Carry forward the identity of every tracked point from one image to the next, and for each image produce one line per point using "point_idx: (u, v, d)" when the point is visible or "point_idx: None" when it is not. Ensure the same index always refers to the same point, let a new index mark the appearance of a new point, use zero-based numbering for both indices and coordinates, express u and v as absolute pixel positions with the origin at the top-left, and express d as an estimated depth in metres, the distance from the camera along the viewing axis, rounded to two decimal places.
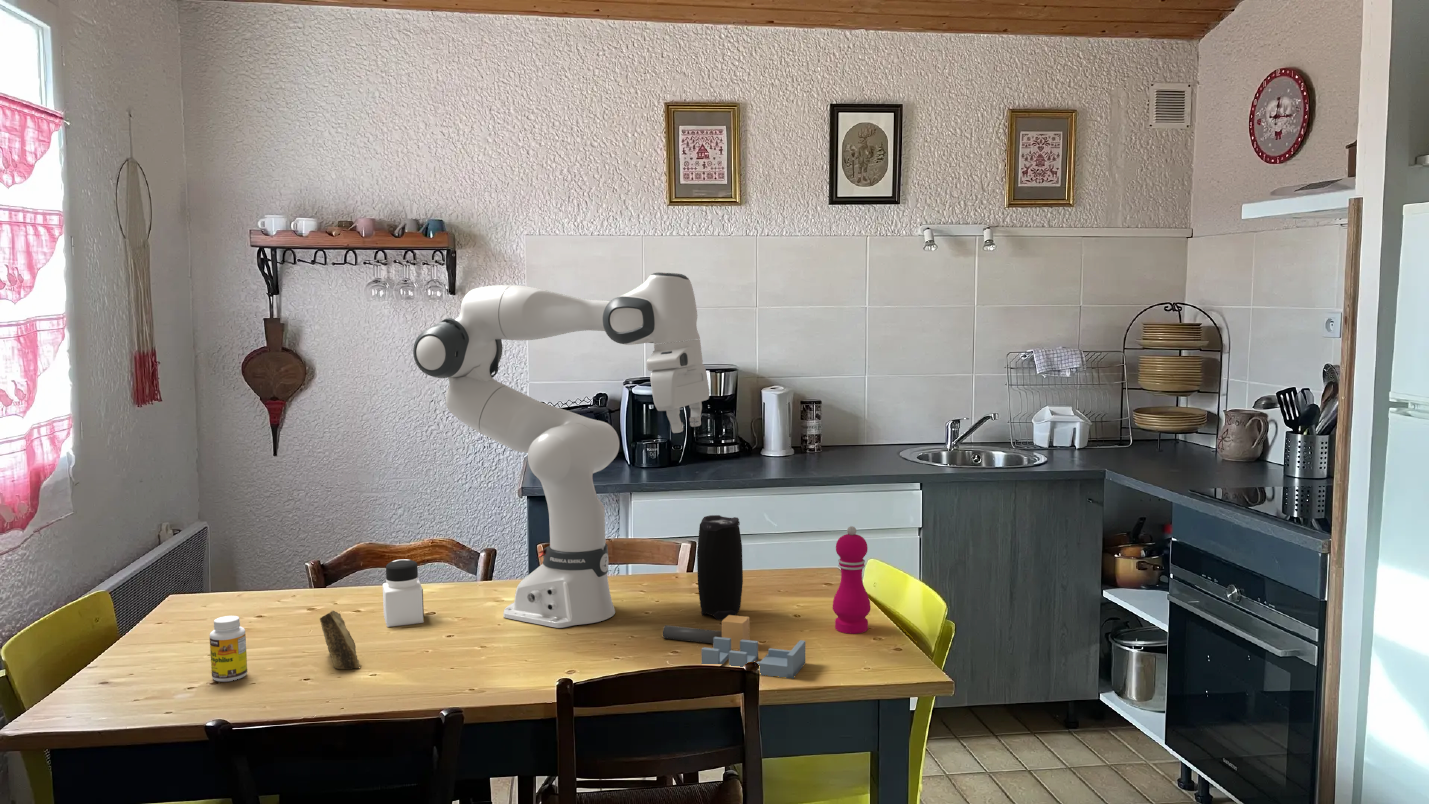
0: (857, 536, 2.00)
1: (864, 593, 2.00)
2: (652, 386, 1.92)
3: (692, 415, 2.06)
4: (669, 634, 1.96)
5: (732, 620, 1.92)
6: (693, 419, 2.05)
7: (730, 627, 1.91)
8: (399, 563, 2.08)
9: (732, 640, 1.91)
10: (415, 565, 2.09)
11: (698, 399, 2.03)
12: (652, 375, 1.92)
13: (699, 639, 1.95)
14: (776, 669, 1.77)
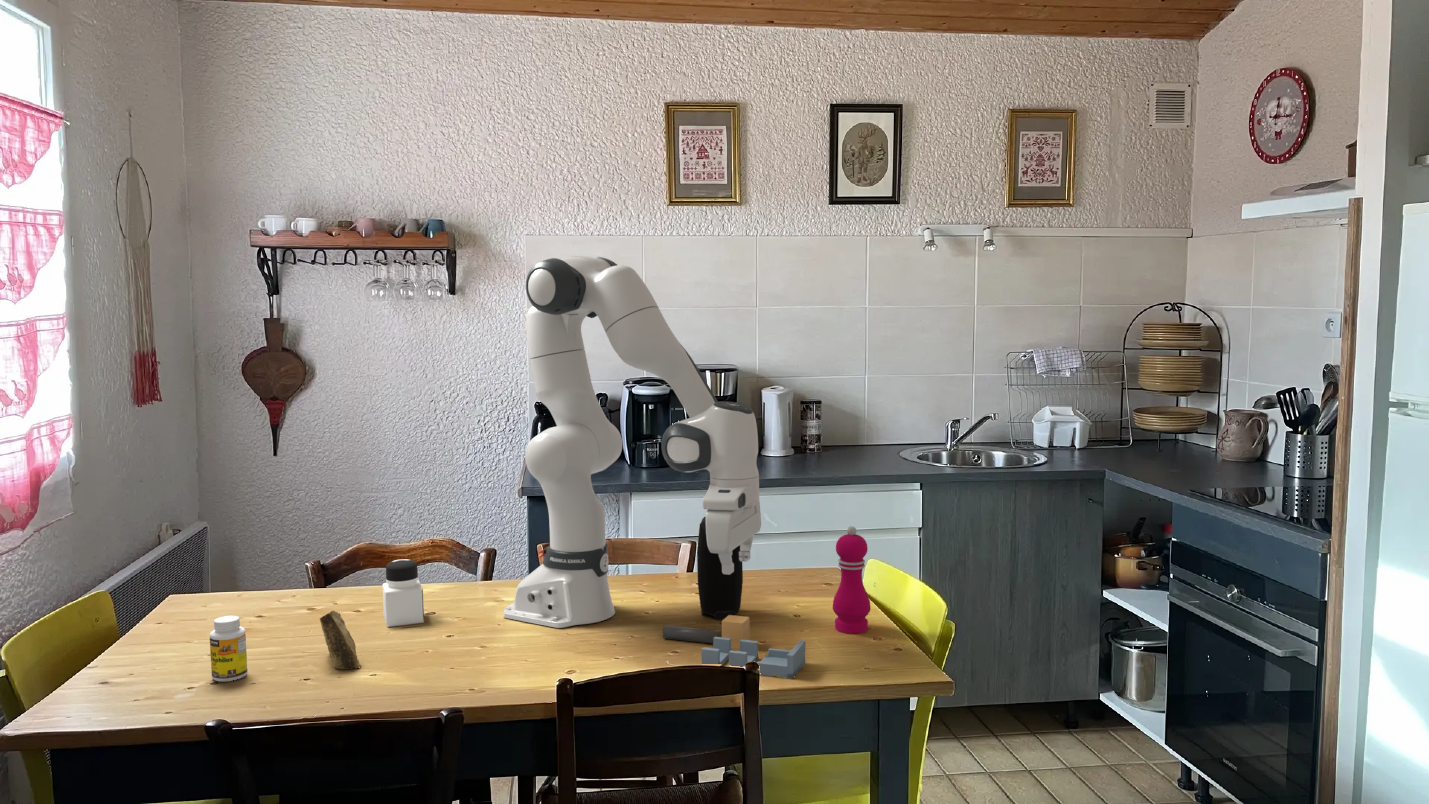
0: (857, 536, 2.00)
1: (864, 593, 2.00)
2: (707, 527, 1.82)
3: (742, 549, 1.96)
4: (669, 634, 1.96)
5: (732, 620, 1.92)
6: (743, 554, 1.95)
7: (730, 627, 1.91)
8: (398, 563, 2.08)
9: (732, 640, 1.91)
10: (415, 565, 2.09)
11: (750, 535, 1.94)
12: (708, 515, 1.83)
13: (699, 639, 1.95)
14: (776, 669, 1.77)
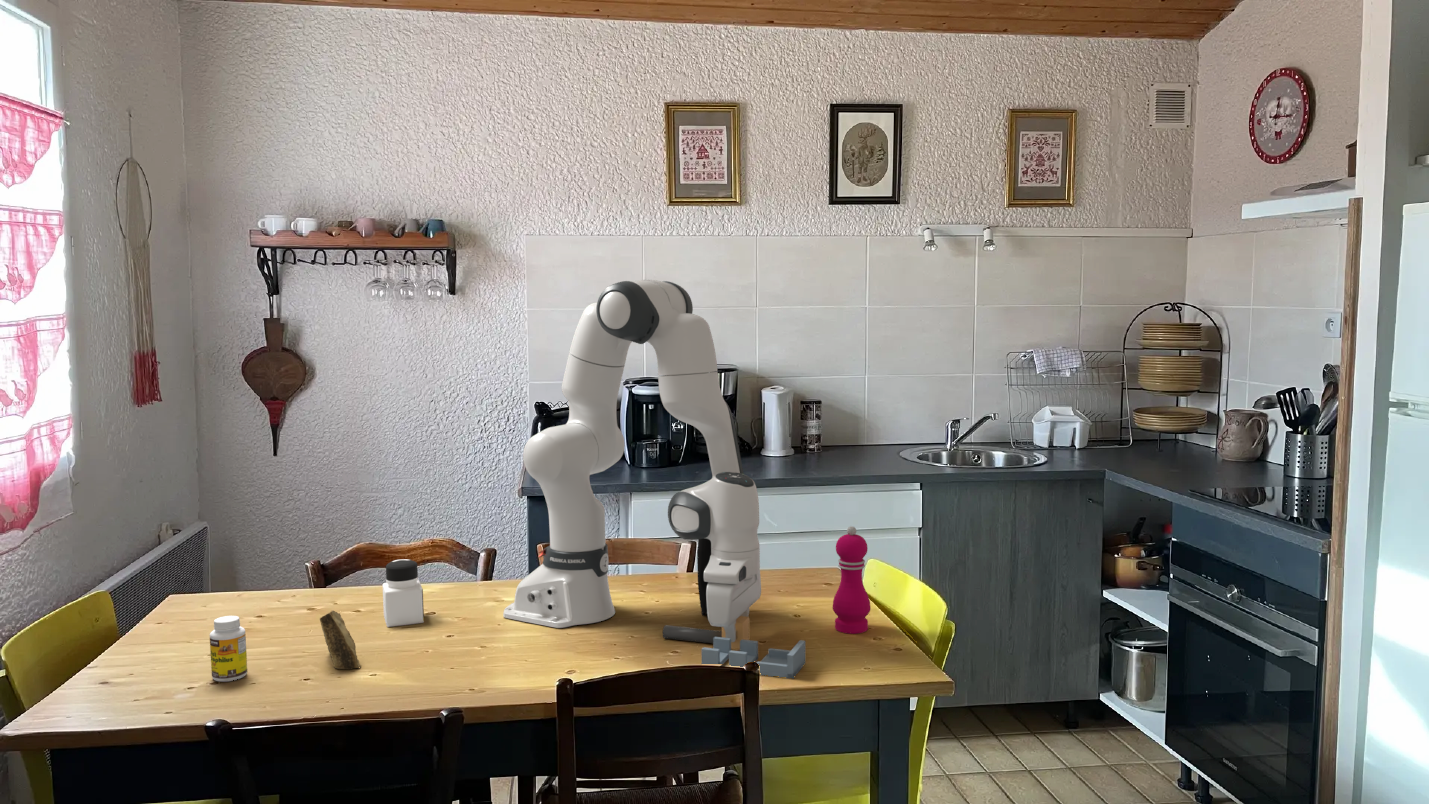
0: (857, 536, 2.00)
1: (864, 593, 2.00)
2: (707, 600, 1.84)
3: None
4: (669, 634, 1.96)
5: None
6: None
7: None
8: (398, 563, 2.08)
9: None
10: (415, 565, 2.09)
11: (750, 604, 1.95)
12: (708, 588, 1.84)
13: (699, 639, 1.95)
14: (776, 669, 1.77)
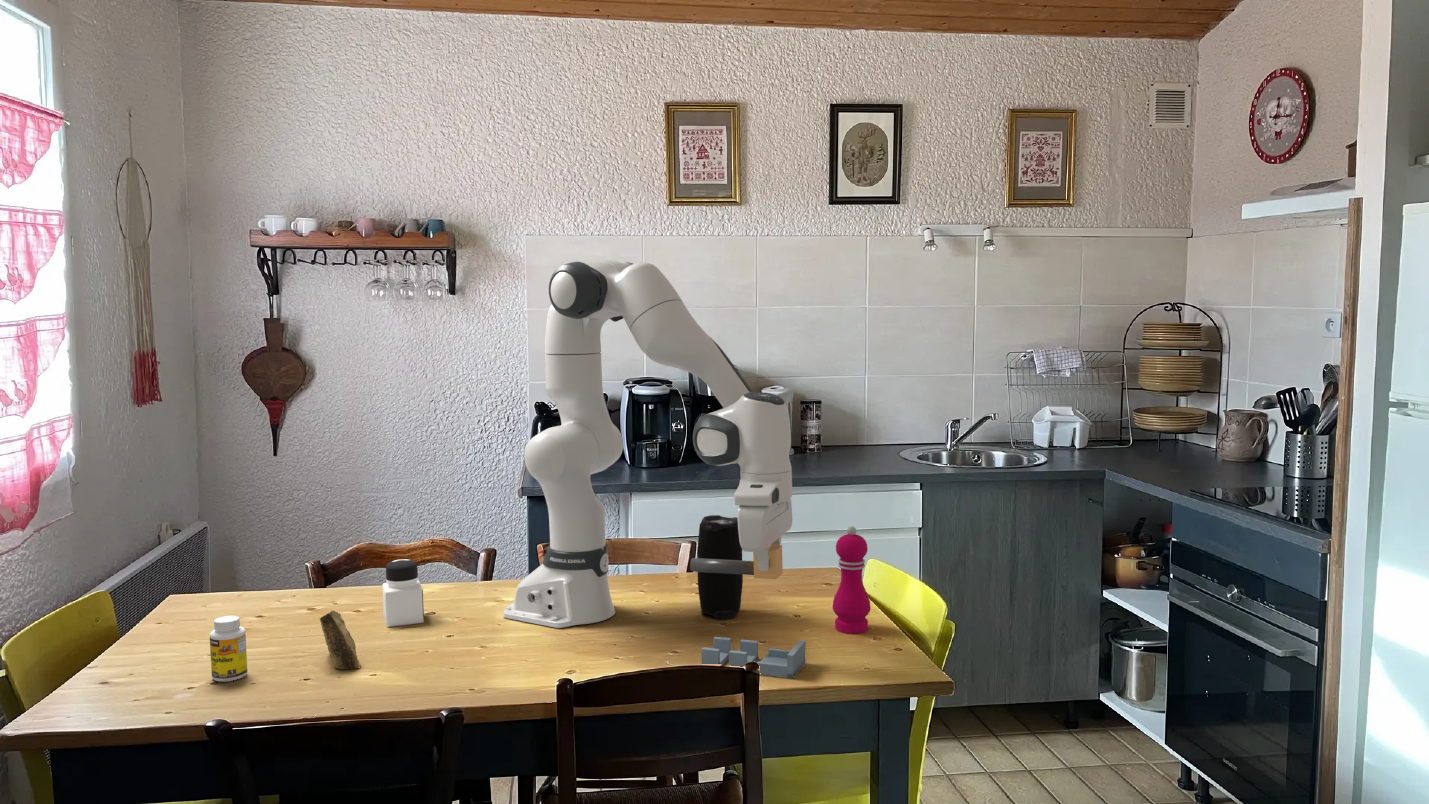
0: (857, 536, 2.00)
1: (864, 593, 2.00)
2: (739, 524, 1.73)
3: None
4: (697, 567, 1.86)
5: None
6: None
7: None
8: (398, 563, 2.08)
9: None
10: (415, 565, 2.09)
11: (782, 532, 1.84)
12: (740, 511, 1.74)
13: (729, 570, 1.84)
14: (776, 669, 1.77)
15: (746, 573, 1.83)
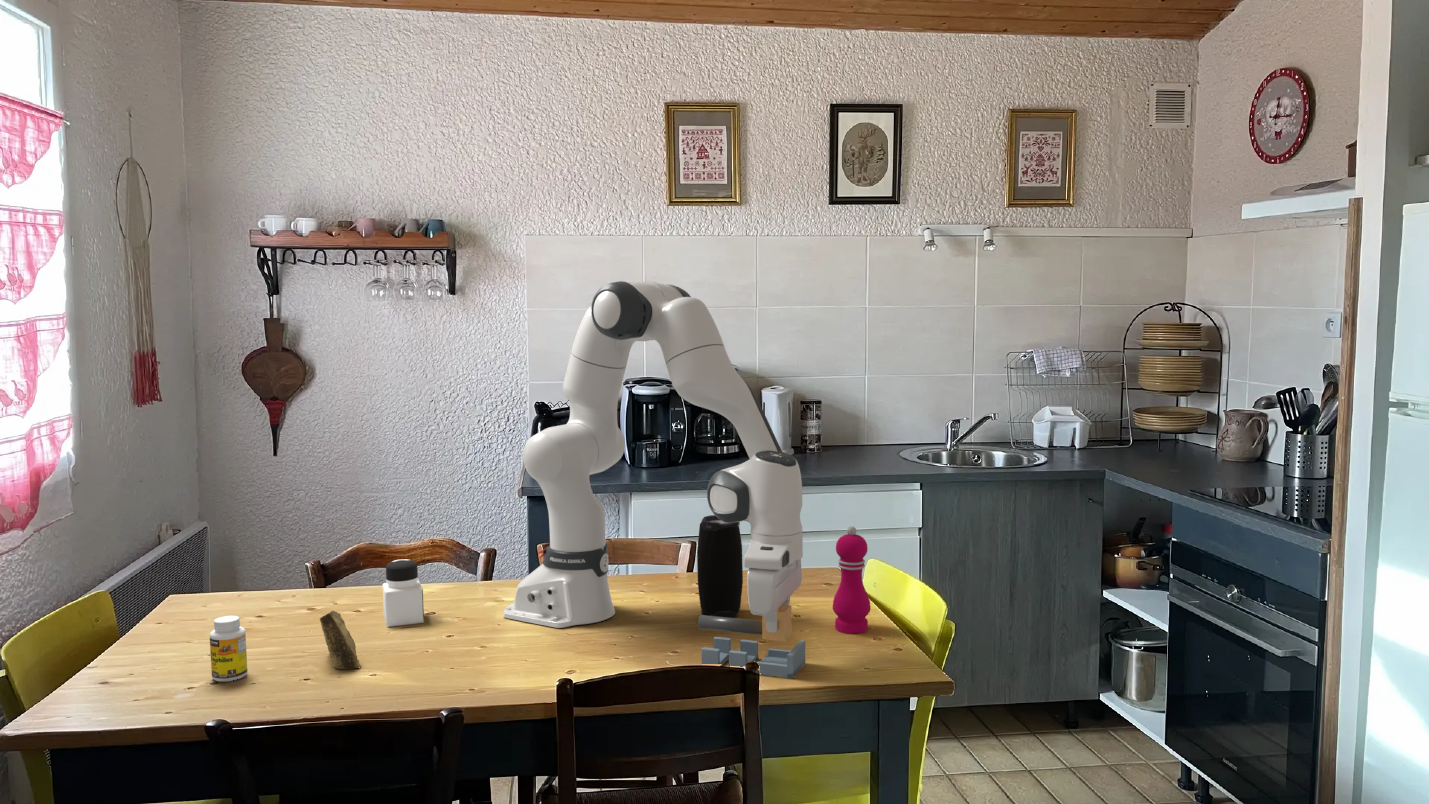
0: (857, 536, 2.00)
1: (864, 593, 2.00)
2: (748, 587, 1.71)
3: None
4: (705, 624, 1.84)
5: None
6: None
7: None
8: (398, 563, 2.08)
9: None
10: (415, 565, 2.09)
11: (792, 592, 1.83)
12: (749, 574, 1.72)
13: (737, 629, 1.82)
14: (776, 669, 1.77)
15: (754, 633, 1.81)
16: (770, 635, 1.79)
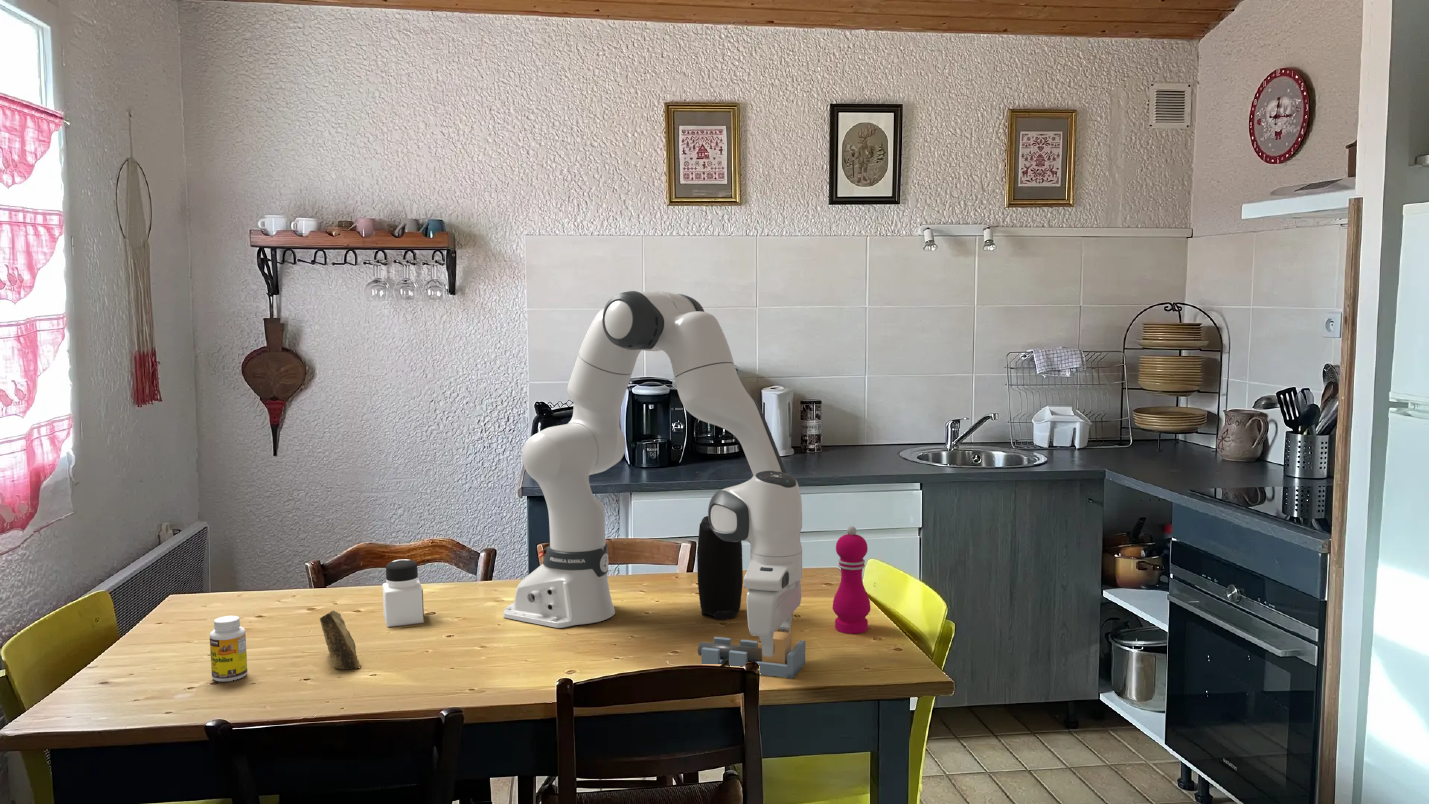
0: (857, 536, 2.00)
1: (864, 593, 2.00)
2: (748, 608, 1.72)
3: (781, 625, 1.86)
4: None
5: (773, 637, 1.80)
6: (782, 631, 1.85)
7: None
8: (398, 563, 2.08)
9: (773, 658, 1.79)
10: (415, 565, 2.09)
11: (791, 612, 1.83)
12: (749, 595, 1.72)
13: None
14: (776, 669, 1.77)
15: (754, 660, 1.82)
16: None
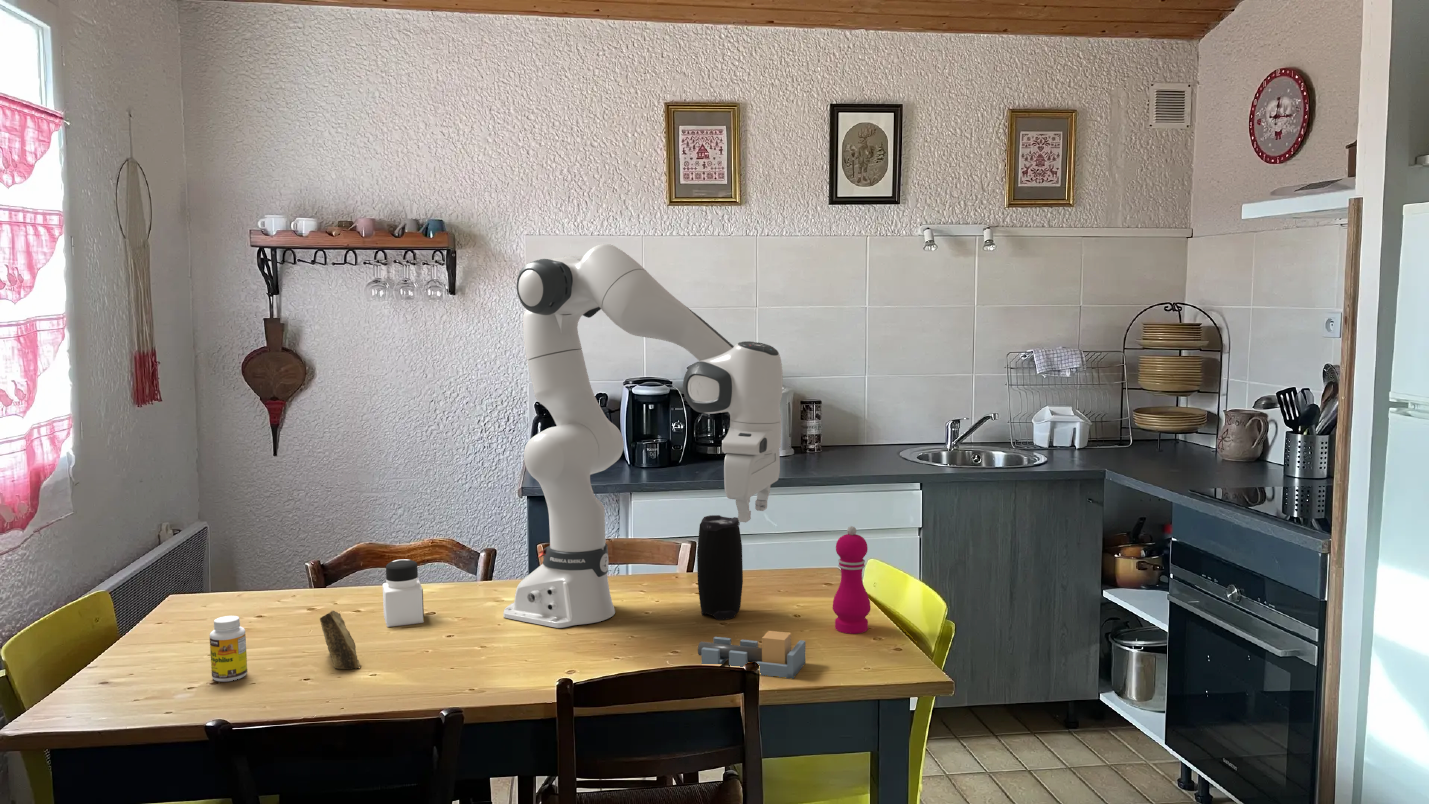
0: (857, 536, 2.00)
1: (864, 593, 2.00)
2: (725, 471, 1.74)
3: (759, 497, 1.88)
4: None
5: (773, 637, 1.80)
6: (759, 503, 1.87)
7: (771, 644, 1.79)
8: (398, 563, 2.08)
9: (773, 658, 1.79)
10: (415, 565, 2.09)
11: (769, 483, 1.85)
12: (727, 459, 1.74)
13: None
14: (776, 669, 1.77)
15: (754, 660, 1.82)
16: None
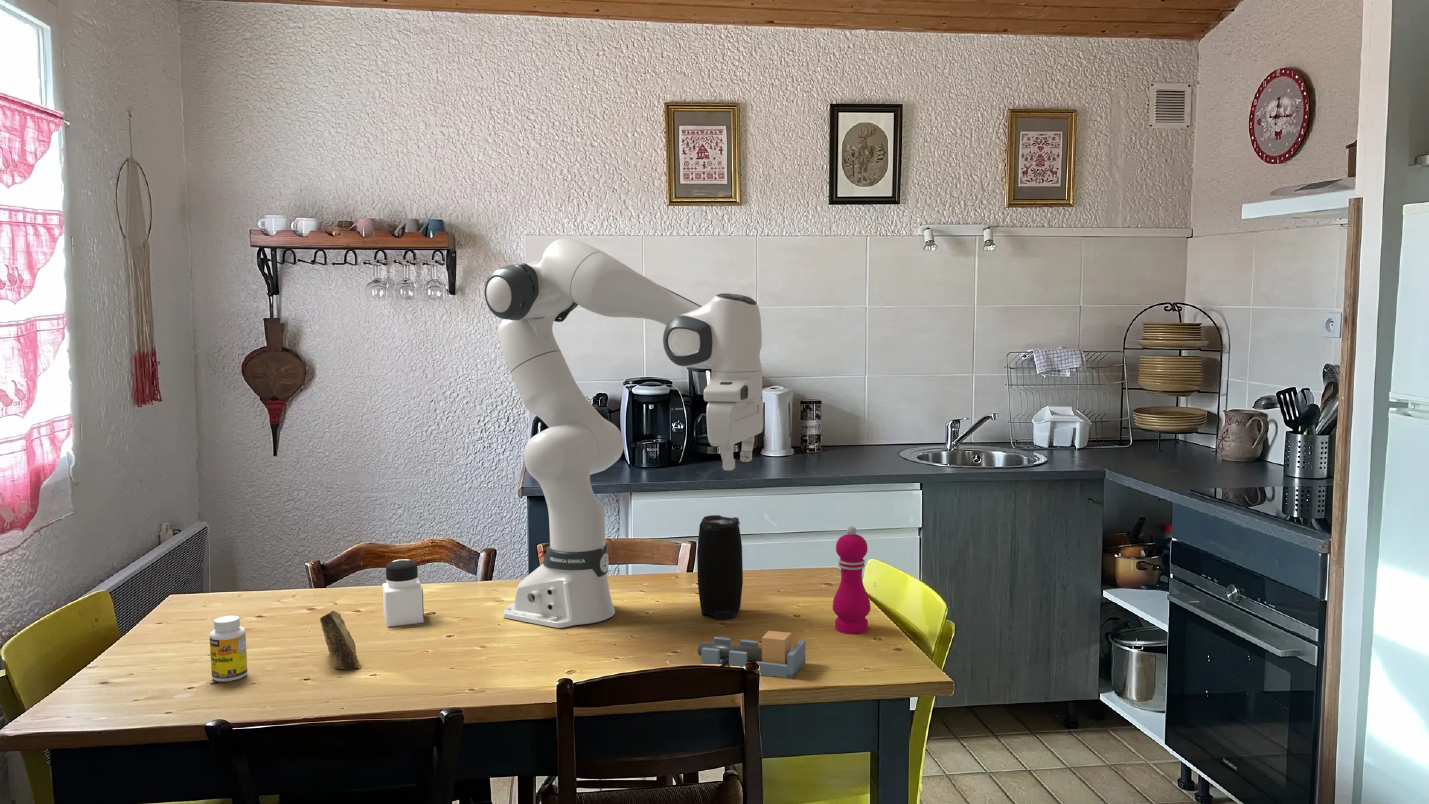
0: (857, 536, 2.00)
1: (864, 593, 2.00)
2: (708, 419, 1.76)
3: (743, 449, 1.90)
4: None
5: (773, 637, 1.80)
6: (744, 454, 1.89)
7: (771, 644, 1.79)
8: (398, 563, 2.08)
9: (773, 658, 1.79)
10: (415, 565, 2.09)
11: (752, 433, 1.87)
12: (709, 407, 1.77)
13: None
14: (776, 669, 1.77)
15: (754, 660, 1.82)
16: None
